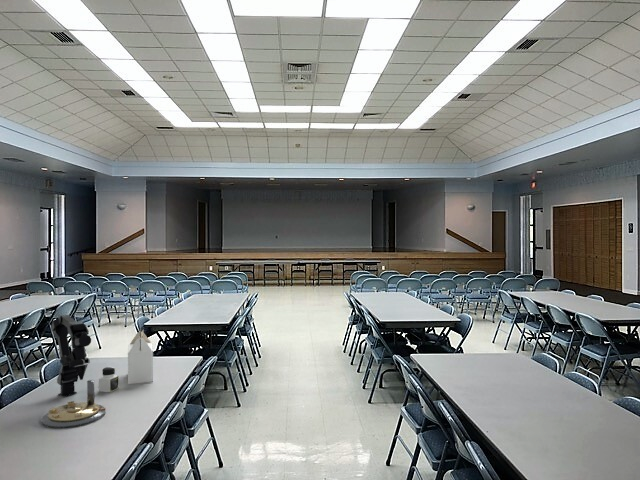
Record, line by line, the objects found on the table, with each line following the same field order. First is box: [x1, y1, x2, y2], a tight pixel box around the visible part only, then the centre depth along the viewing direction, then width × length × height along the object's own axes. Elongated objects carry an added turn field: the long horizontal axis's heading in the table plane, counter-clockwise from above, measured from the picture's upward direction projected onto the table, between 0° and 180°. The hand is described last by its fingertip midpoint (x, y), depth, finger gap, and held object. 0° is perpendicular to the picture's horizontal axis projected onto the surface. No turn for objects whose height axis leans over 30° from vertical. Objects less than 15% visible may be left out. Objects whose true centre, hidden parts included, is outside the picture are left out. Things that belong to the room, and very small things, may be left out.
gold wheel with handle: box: [47, 379, 100, 422], centre depth 222 cm, size 21×21×12 cm
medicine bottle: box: [98, 366, 119, 393], centre depth 261 cm, size 7×7×12 cm
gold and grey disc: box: [41, 404, 106, 429], centre depth 223 cm, size 26×26×2 cm
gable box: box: [127, 327, 154, 385], centre depth 283 cm, size 22×13×28 cm, turn 20°
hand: (81, 379), depth 239 cm, fingers closed
